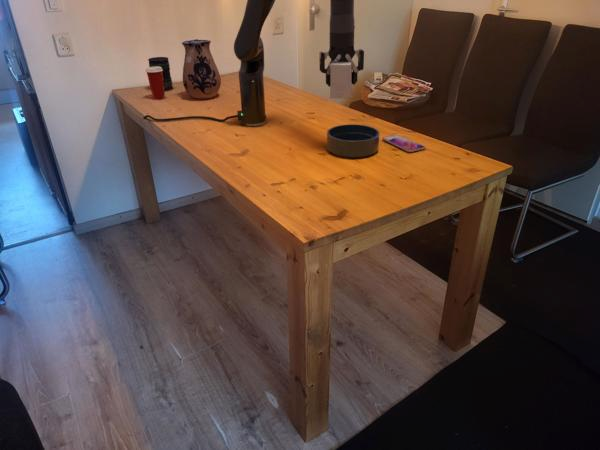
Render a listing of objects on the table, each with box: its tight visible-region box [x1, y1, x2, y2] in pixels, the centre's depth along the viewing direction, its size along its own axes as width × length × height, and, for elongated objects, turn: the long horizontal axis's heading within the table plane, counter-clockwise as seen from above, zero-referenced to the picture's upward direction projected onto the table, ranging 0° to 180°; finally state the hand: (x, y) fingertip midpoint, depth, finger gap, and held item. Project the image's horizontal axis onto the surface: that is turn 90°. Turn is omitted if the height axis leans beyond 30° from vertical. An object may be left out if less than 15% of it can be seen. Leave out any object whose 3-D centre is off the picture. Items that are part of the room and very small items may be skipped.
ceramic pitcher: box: [181, 38, 222, 100], centre depth 212 cm, size 18×21×25 cm
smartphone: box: [381, 134, 426, 153], centre depth 155 cm, size 7×1×15 cm
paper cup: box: [145, 66, 166, 101], centre depth 213 cm, size 8×8×14 cm
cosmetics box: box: [329, 61, 353, 100], centre depth 144 cm, size 10×6×10 cm, turn 171°
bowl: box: [326, 123, 381, 159], centre depth 151 cm, size 17×17×6 cm
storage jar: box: [147, 56, 174, 92], centre depth 228 cm, size 10×10×15 cm
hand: (341, 85), depth 145 cm, fingers closed on cosmetics box, 7 cm apart
